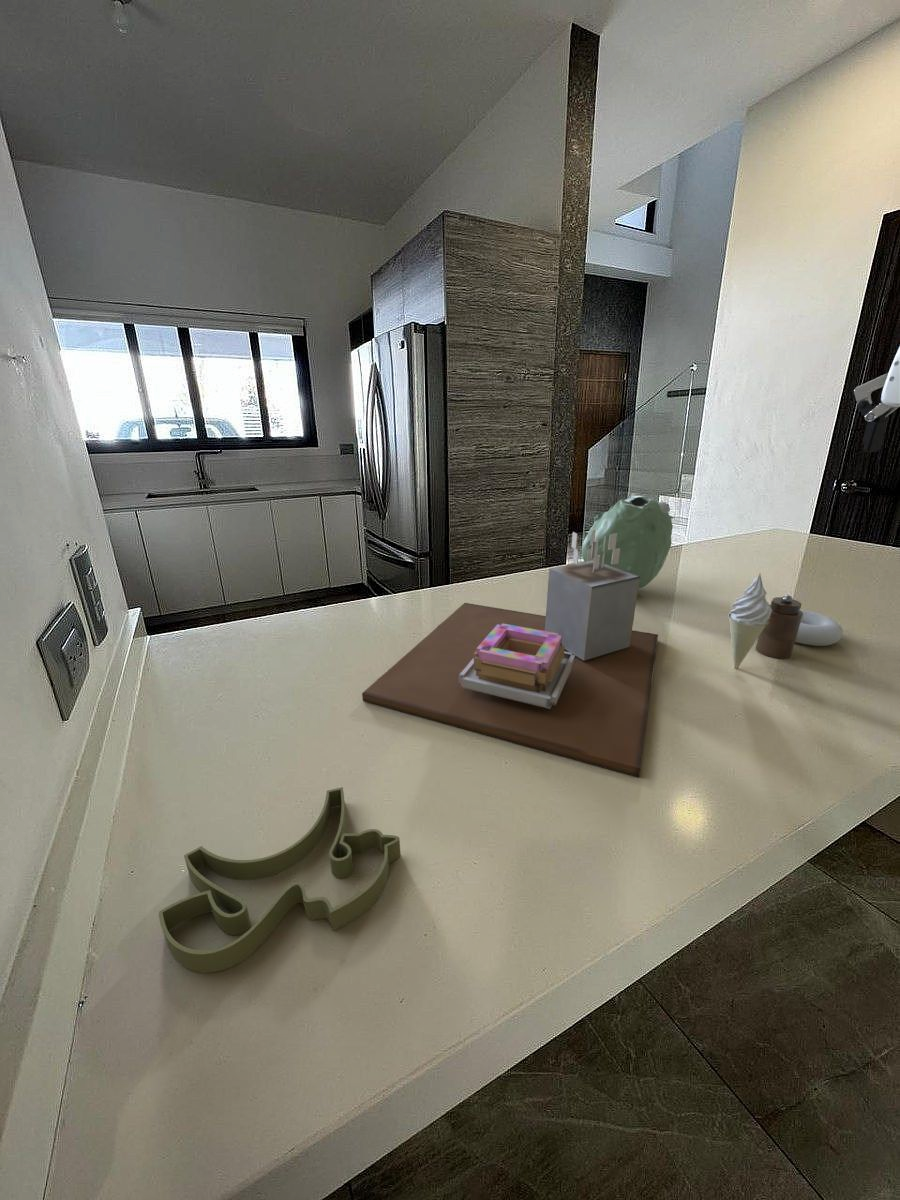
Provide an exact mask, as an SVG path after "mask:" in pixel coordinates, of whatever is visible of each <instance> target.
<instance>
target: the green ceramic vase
mask: <svg viewBox="0 0 900 1200" xmlns="http://www.w3.org/2000/svg"><path fill="white" fill-rule="evenodd" d="M670 511H671V507H670V504H668V503H667V502H665V501H658V500H656V499H655V498H650V497H648V496H644V494H643V493H640V492H633V493H632V494H631V496H630V497H628V498H625V499H622V498H621V499H620V500H618V501H617V502H616V503H615V504H614V505H610V508H609V510H608V511H601V515H600V514H597V515H596V516H594V518H593V525H592V526H591V527H590V529H589V531H588V532H587V535H586V536H585V538H584V540H583V542H582V544H581V545H582V546H581V558H582V560H583V562H586V560H587V550H588V546H590V544H591V534H592V530H594V529H596V532H595V541H599V543H598V552H597V556H598V555H600V560H599V562H602V558H603V554H602V552H603V543H604V538H605V537H606V541H605V550H604V551H605V556H604V563H605V564H608V565H610V566H613V567H616V568H619V569H621V570H624V571H627V572H630V573H633V574H635V575H638V576H640V579H639V586H638V590H639V589H641V588H644V587H646V586H647V585H649V583H651V582H652V581H653V580H654V579H655V578H656V577H657V576H658V575H659V573H660V571H661V570H662V568H663V567H664V564H665V562H666V560H667V557H668V555H669V553H670V551H671V547H672V542H673V541H672V533H673V529H674V528H673V521H672V519H675V517H674V516H671V515H670V514H669V513H670ZM610 534H617V539H616V547H615V549H620V554H619V562H618V564H611V562H612V554H613V550H608V545H609V537H610ZM591 554H592V548H591ZM591 560H594V558H590V560H589V561H591Z"/></svg>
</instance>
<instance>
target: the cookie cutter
mask: <svg viewBox="0 0 900 1200" xmlns="http://www.w3.org/2000/svg"><path fill="white" fill-rule="evenodd" d="M344 792H345V791H344V787H342V786H341V787H337V788H332V789H327V790H326V793H325V794H326V795H325V799H324V804H323V806H322V810H321V812H320V813H319V816H318V818H317V819H316V821H315V823H314V824H313V826H312V827H311V828H310V829H309V830H308V831H307V832H306V833H305V834H304V835H303V836H302V837H301V838H300V839H298V840H297V842H295V843H293V844H292V845H290V846H289V847H287V848H285V849H283V850H280V851H279V852H277V853H274V854H271V855H267V856H264V857H261V858H256V859H233V858H227V857H224V856H220V855H217V854H215V853H213V852H211V851H209V850H208V849H207V848H205V847H203V845H201V846H199V847H197V848H195V849H193V850H191V851H189V852H188V853H186V854H184V855H183V858H184V862H185V866H186V869H187V871H188V875H189V877H190V880H191V882H192V883H193V885H194V887H195V888H196V889H197V890H198V891H199V892H198V893H195V894H192V895H189V896H186V897H184V898H182V899H180V900H178V901H175V902H173V903H171V904H169V905H167V906H165V907H164V908H163V909H161V910H159V911H158V919H159V924H160V927H161V930H162V933H163V936H164V939H165V941H166V945H167V947H168V950H169V951H170V954H171V956H172V957H173V958H174V959H175V960H176V961H177V963H179V964H180V965H181V966H182V967H184V968H185V969H188V970H190V971H192V972H196V973H201V974H211V973H218V972H222V971H225V970H228V969H230V968H232V967H235V966H237V965H239V964H240V963H242V962H243V961H245V960H246V959H247V958H249V957H250V956H251V955H252V954H253V953H254V952H256V950H257V949H259V948H260V946H261V945H262V944H263V943H264V942H265V941H266V940H267V938H268V937H269V936H270V935H271V934H272V933H273V931H274V930H275V929H276V928H277V926H278V925H279V924H280V922H281V921H282V920H283V918H284V917H285V916H286V915H287V914H288V912H289V911H290V910H291V909H292V908H293V907H294V906H295V905H297V904H299V903H301V904H302V905H303V907H304V912H305V917H306V919H307V920H310V921H314V920H320V919H326V920H327V921H328V922H329V923H330V925H331V929H332V931H335V930H338V929H340V928H342V927H344V926H345V925H347V924H349V923H351V922H352V921H354V920H356V919H357V918H359V917H360V916H361V915H363V914H364V913H366V911H367V910H368V909H370V908H371V907H372V906H373V904H375V902H376V901H377V900H378V899H379V898H380V896H381V895H382V894H383V892H384V891H385V890H384V889H385V887H386V886H387V882H388V878H389V874H390V873H389V872H390V863H392V862H395V861H396V860H398V859H399V858H400V857H401V842H400V841H401V839H400V837H399V836H397V835H393V834H383V833H382V831H381V830H379V829H377V828H370V829H366V830H363V831H361V832H357V833H356V832H355V833H354V832H353V833H352V832H351V833H350V832H349V833H347V832H346V831H347V810H346V802H345V801H346V800H345V794H344ZM339 806H341V807H340V808H341V809H340V810H341V811H340V819H339V820H340V821H339V824H338V829H337V832H336V836H335V838H334V841H333V843H332V845H331V847H330V849H329V851H328V855H329V856H328V857H329V863H330V870H331V874H332V876H334V877H335V878H337V879H342V878H343V879H344V878H347V877H349V876H350V875H351V874H352V873H353V871H354V863H353V862H354V861H353V854H352V853H363V852H365V851H368V850H370V849H377V850H379V851H380V852H381V854H382V855H383V861H382V864H381V867H380V869H379V870H378V872H377V874H376V875H375V877H374V878H373V879H372V880H371V882H369V884H367V886H366V887H365V888H363V889H362V890H361V891H360V892H358V893H357V894H356V895H354V896H352V897H351V898H350V899H348V900H346V901H344V902H342V903H340V904H339V905H337V906H335V907H333V904H332V903H331V902H330V900H329V899H328V898H326V897H324V896H318V897H312V898H308V896H307V895H308V894H307V890H306V887H305V885H304V884H303V882H301V881H295V882H292V883H291V884H289V885H287V887H285V888H284V889H283V891H281V893H280V894H279V895H278V897H276V898H275V900H274V901H273V902H272V904H271V905H270V906H269V907H268V908H267V910H266V911H265V912H264V913H263V914H262V915H261V917H259V919H258V920H257V921H256V922H255V923H254V924H253V925H252V923H251V917H250V914H249V911H248V906H247V903H246V902H245V900H243V899H242V898H241V897H239V896H238V895H235V894H233V893H232V892H229V891H228V890H226V889H224V888H222V887H221V886H218V885H217V884H215V883H214V882H212V881H211V880H209V879H208V878H207V877H205V876H204V875H203V874H202V873H200V872H199V870H200V869H202V868H207V869H208V870H209V871H211V872H213V873H214V874H216V875H219V876H221V877H224V878H227V879H232V880H236V881H237V880H238V881H254V880H255V881H256V880H261V879H266V878H270V877H273V876H276V875H279V874H281V873H283V872H286V871H288V870H289V869H292V868H293V867H294V866H296V865H297V864H299V863H300V862H302V861H303V860H304V859H305V858H307V856H308V855H310V854H311V852H312V851H313V850H314V849H315V848H316V847H317V845H318V844H319V843H320V841H321V840H322V838H323V836H324V834H325V832H326V830H327V828H328V826H329V822H330V819H331V814H332V813H331V812H332V808H335V807H339ZM218 906H219V907H220V908H222V909H224V910H225V911H227V912H229V913H227V912H224V911H223V910H222V909H220V908H219V907H218ZM208 913H212V915H213V918H214V922H216V924H217V926H218V928H219V929H220V930H221V931H222V932H224V933H225V934H226V935H229V936H239V937H237V939H235V940H233V941H231V942H229V943H228V944H225V945H223V946H220V947H217V948H212V949H202V950H201V949H199V950H198V949H192V948H189V947H186V946H184V945H182V944H180V943H179V942H178V941H176V939H174V938H173V936H172V934H170V930H173V928H175V927H177V926H179V925H180V924H183V923H185V922H187V921H189V920H191V919H194V918H196V917H198V916H201V915H205V914H208ZM240 935H241V936H240Z"/></svg>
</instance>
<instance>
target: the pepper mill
mask: <svg viewBox="0 0 900 1200" xmlns="http://www.w3.org/2000/svg"><path fill="white" fill-rule="evenodd" d="M769 605H770V607H771V609H772V612H771V615H770V619H769V620H768V622H769V623H768V625H766V626H765V628H764V629H763V631H762V632H761V634H760V635H759V637H758V639H757V640H756V643H755V650H756V652H757V653H759V654H761V655H763V656H765V657H768V658H772V659H777V660H778V659H779V660H784V659H789V658H791V656H792V653H793V651H794V647H795V643H796V642H795V640H796V637H797V633H798V630H799V626H800V623H801V620H802V616H803V612H802V611H800V610H801V609H802V603H801V602H800V601H798V600H797V599H794V598H793V597H792V596H791V595H788V594H787V595H783V596H777V597H776V596H775V597H773V598H771V600H770V604H769Z"/></svg>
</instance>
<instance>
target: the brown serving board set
mask: <svg viewBox="0 0 900 1200" xmlns="http://www.w3.org/2000/svg"><path fill="white" fill-rule="evenodd" d="M595 532H596V529H594V530H592V534H591V544H590V546H588V550H587V560H586V562H584V561H581V562H579V555H580V553H579V552H580V549H579V548H578V547H577V544H578V535H579V534H578V532H575V531H572V536H571V548H572V549H573V556H572V563H571V564H565V565H560V566H555V567H550V568H548V579H547V580H548V582H547V592H546V593H547V594H546V607H545V615H542V614H536V613H531V612H524V611H518V610H512V609H505V608H500V607H493V606H488V605H481V604H474V603H469V602H464V603H463V604H461V605H460V606H459V607H458V608H457V609H455V611H454V612H452V613H451V614H450V615H449V616H448V617H447V618H446V619H444V620H443V621H442V622H441V623H440V624H439V625H438V626H436V628H434V629H433V630H432V631H431V632H430V633H429V634H427V635H426V636H425V637H424V638H423V639H422V640H421V641H419V643H418V644H416V645H415V646H414V647H413V648H412V649H410V650H409V651H408V652H407V653H406V654H405V655H404V656H403V657H401V658H400V659H399V660H398V661H397V662H395V664H394V665H393V666H391V667H390V668H389V669H388V670H387V671H385V672H384V673H383V674H382V675H381V676H379V678H378V679H376V681H375V680H374V682H373V683H372V684H371V685H369V687H367V688H366V689H365V690H363V692H361V698H362V702H365V703H370V704H373V705H376V706H380V707H384V708H388V709H391V710H395V711H398V712H401V713H405V714H409V715H413V716H416V717H419V718H423V719H426V720H431V721H434V722H438V723H441V724H445V725H449V726H452V727H456V728H459V729H463V730H467V731H470V732H474V733H477V734H481V735H485V736H488V737H492V738H495V739H499V740H502V741H506V742H509V743H514V744H517V745H521V746H524V747H527V748H532V749H535V750H538V751H542V752H545V753H549V754H553V755H557V756H560V757H563V758H567V759H571V760H575V761H578V762H582V763H585V764H589V765H593V766H596V767H599V768H604V769H607V770H611V771H614V772H618V773H622V774H625V775H629V776H633V777H636V778H639V777H640V773H641V768H642V767H641V766H642V759H643V750H644V743H645V737H646V728H647V721H648V714H649V707H650V698H651V692H652V691H651V690H652V682H653V676H654V670H655V669H654V668H655V660H656V653H657V646H658V639H659V638H658V637H659V634H656V633H650V632H645V631H639V630H633V627H634V620H635V619H634V618H635V612H636V607H637V606H636V605H637V599H638V592H639V589H638V586H639V579H640V576H638V575H635V574H633V573H630V572H627V571H624V570H621V569H619V568H616V567H613V566H610V565H608V564H605V563H604V556H605V551H604V550H605V541H606V537H605V538H604V543H603V552H602V554H603V558H602V562H599V560H600V555H598V556H597V552H598V543H599V541H595ZM616 539H617V534H610V537H609V545H608V550H613V554H612V562H611V564H618V562H619V554H620V549H615V547H616ZM591 548H592V554H591ZM590 558H594V560H591V561H589V560H590Z"/></svg>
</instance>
